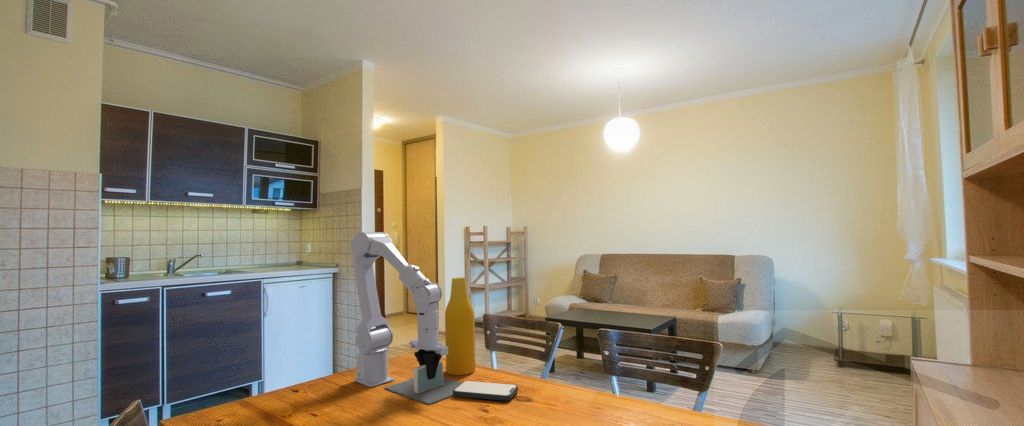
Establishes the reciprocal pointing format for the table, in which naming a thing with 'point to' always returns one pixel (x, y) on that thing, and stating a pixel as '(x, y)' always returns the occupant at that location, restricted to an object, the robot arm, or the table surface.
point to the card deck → (422, 380)
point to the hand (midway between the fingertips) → (429, 377)
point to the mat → (428, 395)
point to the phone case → (486, 390)
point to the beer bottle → (460, 330)
